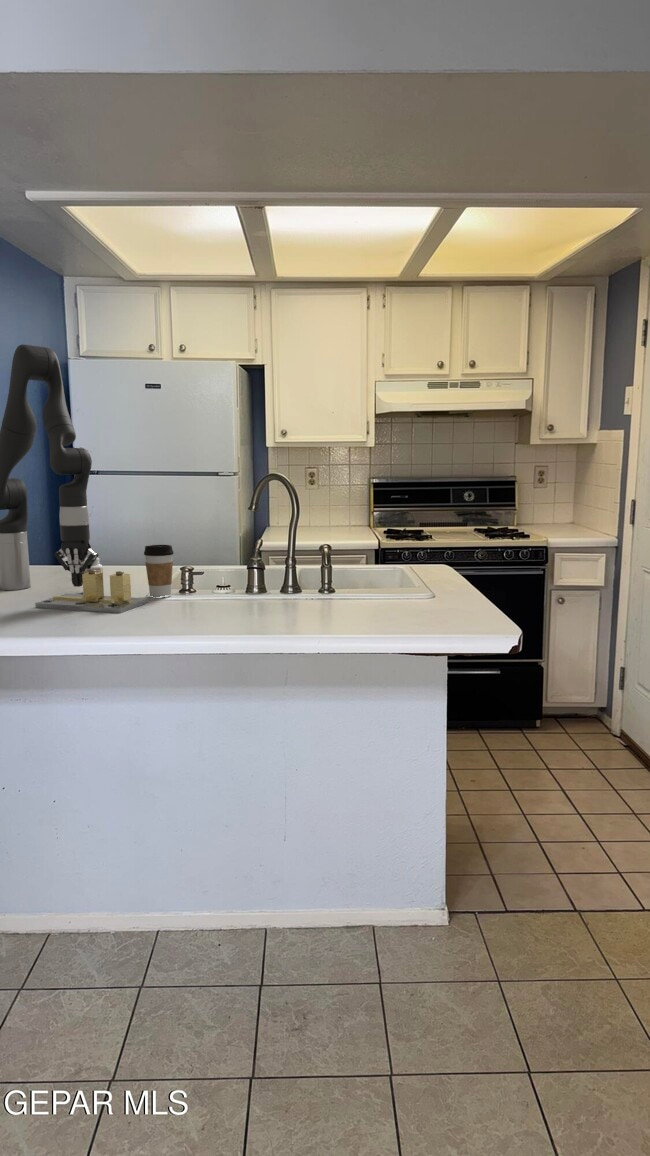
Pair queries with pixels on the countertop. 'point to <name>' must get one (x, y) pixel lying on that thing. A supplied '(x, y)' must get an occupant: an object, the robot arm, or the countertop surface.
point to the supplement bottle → (95, 567)
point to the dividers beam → (112, 590)
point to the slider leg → (92, 586)
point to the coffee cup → (159, 569)
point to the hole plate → (90, 604)
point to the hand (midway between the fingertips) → (78, 586)
